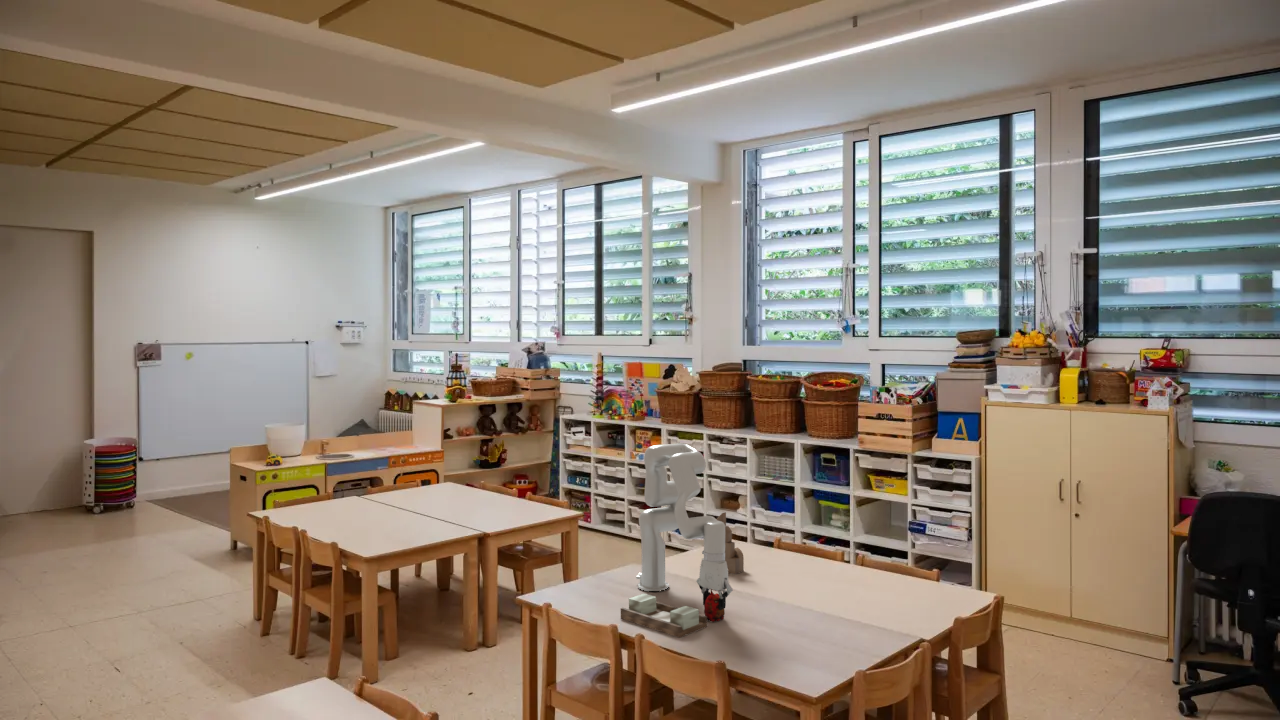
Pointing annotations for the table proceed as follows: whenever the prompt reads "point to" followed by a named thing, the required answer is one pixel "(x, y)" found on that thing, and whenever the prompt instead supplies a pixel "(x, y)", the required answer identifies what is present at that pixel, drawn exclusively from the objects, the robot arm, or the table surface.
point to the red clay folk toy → (713, 608)
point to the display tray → (663, 616)
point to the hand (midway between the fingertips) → (714, 606)
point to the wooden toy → (731, 550)
